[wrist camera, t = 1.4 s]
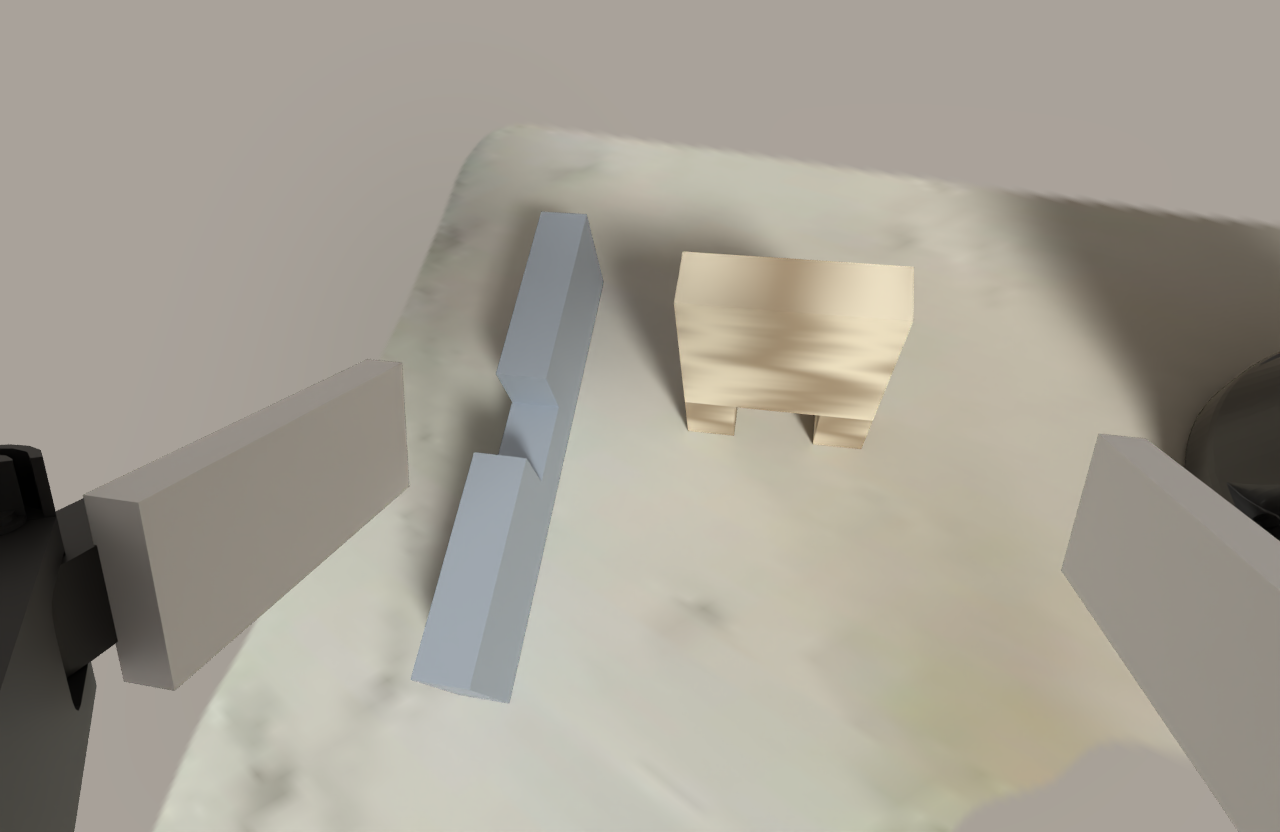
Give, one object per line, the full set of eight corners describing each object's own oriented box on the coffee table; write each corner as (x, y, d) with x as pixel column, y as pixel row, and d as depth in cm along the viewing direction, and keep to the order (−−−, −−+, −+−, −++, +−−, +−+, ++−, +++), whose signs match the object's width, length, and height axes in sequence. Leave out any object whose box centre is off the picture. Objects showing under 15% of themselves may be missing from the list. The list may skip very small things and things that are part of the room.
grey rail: (603, 281, 45) (586, 214, 39) (509, 703, 35) (469, 689, 29) (563, 278, 45) (541, 211, 40) (458, 694, 35) (410, 679, 30)
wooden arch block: (862, 405, 39) (913, 266, 29) (861, 449, 38) (913, 321, 28) (694, 389, 41) (682, 251, 30) (688, 430, 40) (673, 302, 29)
